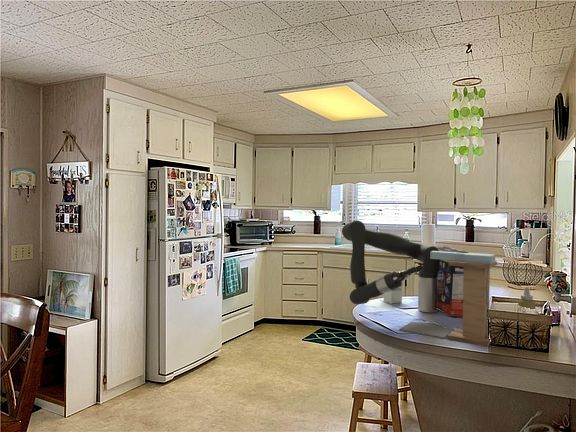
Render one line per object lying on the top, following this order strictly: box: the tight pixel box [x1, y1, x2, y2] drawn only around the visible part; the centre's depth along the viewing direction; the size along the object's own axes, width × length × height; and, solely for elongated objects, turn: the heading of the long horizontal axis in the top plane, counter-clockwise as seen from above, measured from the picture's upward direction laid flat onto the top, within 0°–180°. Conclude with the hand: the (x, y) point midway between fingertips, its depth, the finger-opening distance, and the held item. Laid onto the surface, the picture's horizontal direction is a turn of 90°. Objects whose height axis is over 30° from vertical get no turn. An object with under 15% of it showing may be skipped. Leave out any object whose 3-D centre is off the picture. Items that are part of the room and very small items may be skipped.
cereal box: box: [437, 246, 470, 319], centre depth 218 cm, size 27×11×32 cm, turn 1°
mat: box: [398, 321, 456, 339], centre depth 184 cm, size 15×19×1 cm
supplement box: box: [383, 281, 403, 305], centre depth 239 cm, size 7×7×13 cm
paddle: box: [430, 251, 496, 264], centre depth 176 cm, size 8×24×3 cm, turn 54°
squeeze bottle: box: [517, 286, 537, 310], centre depth 188 cm, size 8×8×18 cm
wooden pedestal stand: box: [447, 260, 498, 347], centre depth 173 cm, size 14×15×31 cm
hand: (419, 267), depth 186 cm, fingers open, 8 cm apart
